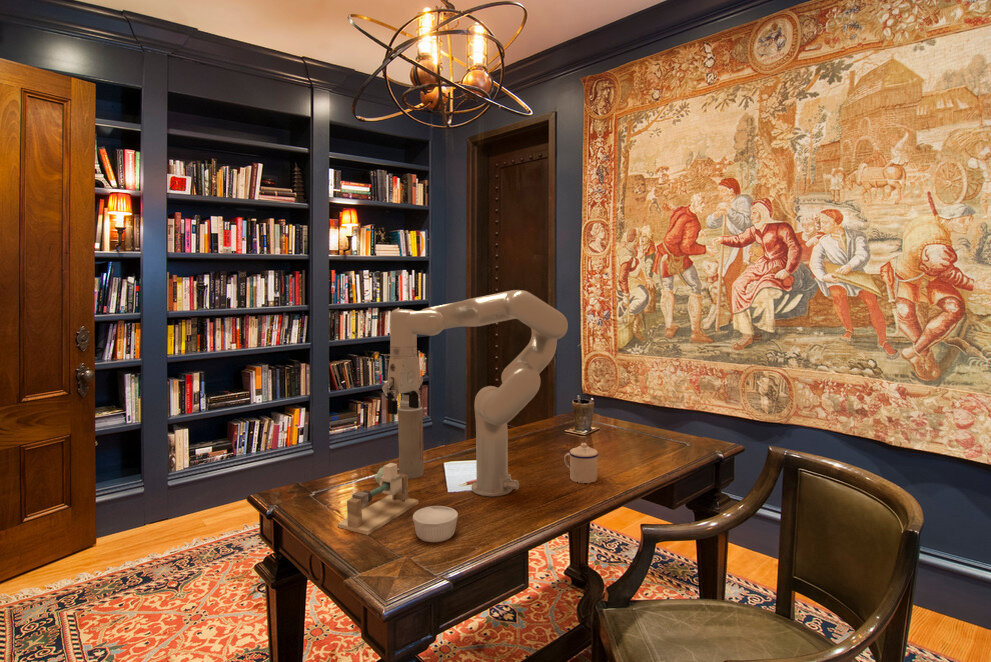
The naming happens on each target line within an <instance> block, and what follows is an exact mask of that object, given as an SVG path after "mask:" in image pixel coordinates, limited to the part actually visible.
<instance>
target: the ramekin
mask: <svg viewBox="0 0 991 662" xmlns="http://www.w3.org/2000/svg"><path fill="white" fill-rule="evenodd" d="M458 517H459V513H458V511H457V510H455V509H454V508H452V507H450V506H449V507H448V506H444V505H431V506H425V507H422V508H420V509H417V510H415V512H414V513H413V515H412V521H413V525H414V529H415V533H416V534H415V535H416V537H418V538H419V539H420V540H421V541H424V542H427V543H439V542H441V543H442V542H444V541H448V540H449V539H451V538H452V537H453V536H454V535H455V532H456V527H457V521H458Z"/></svg>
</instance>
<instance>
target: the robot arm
mask: <svg viewBox="0 0 991 662" xmlns="http://www.w3.org/2000/svg"><path fill="white" fill-rule="evenodd" d="M515 319H516V320H518V321H519V322H521V323H522V324H524V325H526V326H527V327H529V328H530V329H531V336H530V337H531V338H530V340H529V343H528V344H527V345H526V346H525V348H523V350H522V351H521V352H520V353H519V354H518V355H517V356H516V357H515V358H514V359H513V360H512V361H511V362H510V363H509V364H508V365H507V366H506V367H505V368H504V369H503V371H502V372H501V377H500V378H501V384H500V386H499V387H496V386H493V385H488V386H484V387H482V388H481V389H480V390H479V391H478V392H477V394H476V395H475V399H474V415H475V416H474V417H475V418H474V419H475V431H476V432H475V433H476V436H475V437H476V439H475V442H476V443H475V444H476V445H475V447H476V448H475V449H476V451H475V452H476V453H475V454H476V458H475V459H476V460H475V461H476V465H475V466H476V481H474V482H473V483H472V484H471V491H472V492H473V493H474V494H476V495H479V496H483V497H500V496H505V495H508V494H509V493H511V492H512V491H513V490H519V488H520V483H519V480H517V479H512V474H510V473H509V472H508V469H509V467H508V460H509V459H508V455H509V454H508V449H509V448H508V443H509V442H508V438H509V435H508V434H509V433H508V423H509V422H510V421H512V420H513V419H514V418H515V417H516V416H517V415H518V414H519V413H520V412H521V411H522V410H523V409H524V408H525V407H526V406H527V405H528V403H530V401H532V400H533V398H535V396H536V395H537V393H538V392H539V390H540V387H541V382H542V381H541V375H540V374H541V372H542V371H543V370H544V369H545V368H546V367H547V366H548V365H549V364H550V363H551V361H552V360H553V358H554V357H555V356H554V355H555V353H556V350H557V344H558V340H560V339H562V338H563V337H565V335H566V334H567V332H568V328H569V325H568V324H569V323H568V319H567V317H566V316H565V315H564V314H563V313H562V312H560V311H559V310H557V308H554V307H553V306H551V305H550V304H548V303H547V302H545V301H543V300H542V299H540V298H539V297H538V296H536V295H534V294H532V293H531V292H529V291H527V290H524V289H523V290H521V289H513V290H512V289H511V290H507V291H502V292H497V293H493V294H487V295H484V296H483V295H482V296H477V297H473V298H467V299H465V300H462V301H456V302H451V303H446V304H442V305H441V304H439V305H435V306H430V307H426V308H423V309H421V310H413V309H406V308H405V309H403V308H402V309H393V310H392V311H391V312H390V321H389V322H390V324H389V325H390V332H389V333H390V334H389V335H390V336H389V338H390V339H389V341H390V345H389V349H390V351H389V352H390V354H389V360H388V368H387V369H388V370H387V381H386V382H385V383H384V384H383V385H382V387H381V389H382V391H383V395H384V398H385V400H386V401H387V404H386V405H387V414H388V415H389V414H390V415H395V416H396V415H397V416H398V408H399V407H398V406H399V405H398V403H399V402H398V400H397V398H398V396H399V395H400V394H402V393H407V392H410V393H411V394H409V407H411V408H418V407H419V400H420V397H419V396H420V394H421V389H422V385H423V382H424V378H423V377H421V367H420V361H419V357H418V355H417V354H418V350H417V349H418V347H417V345H418V344H417V341H418V340H417V337H418V335H423V336H428V337H429V336H436V335H439V334H440V333H441V332H443V330H448V329H451V328H452V329H453V328H459V327H460V328H461V327H470V328H471V327H483V326H486V325H491V324H496V323H500V322H501V323H502V322H506V321H511V320H515Z"/></svg>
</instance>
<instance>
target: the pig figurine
mask: <svg viewBox="0 0 991 662" xmlns="http://www.w3.org/2000/svg"><path fill="white" fill-rule="evenodd" d="M398 471H399V470H397V473H399V472H398ZM383 475H384V466H382V467H380V468H379V470H378V471H377V473H376V474H374V475H373V476H374V480H375V481H376V482H377V483H378V485H379V486H380V477H381V476H383Z"/></svg>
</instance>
